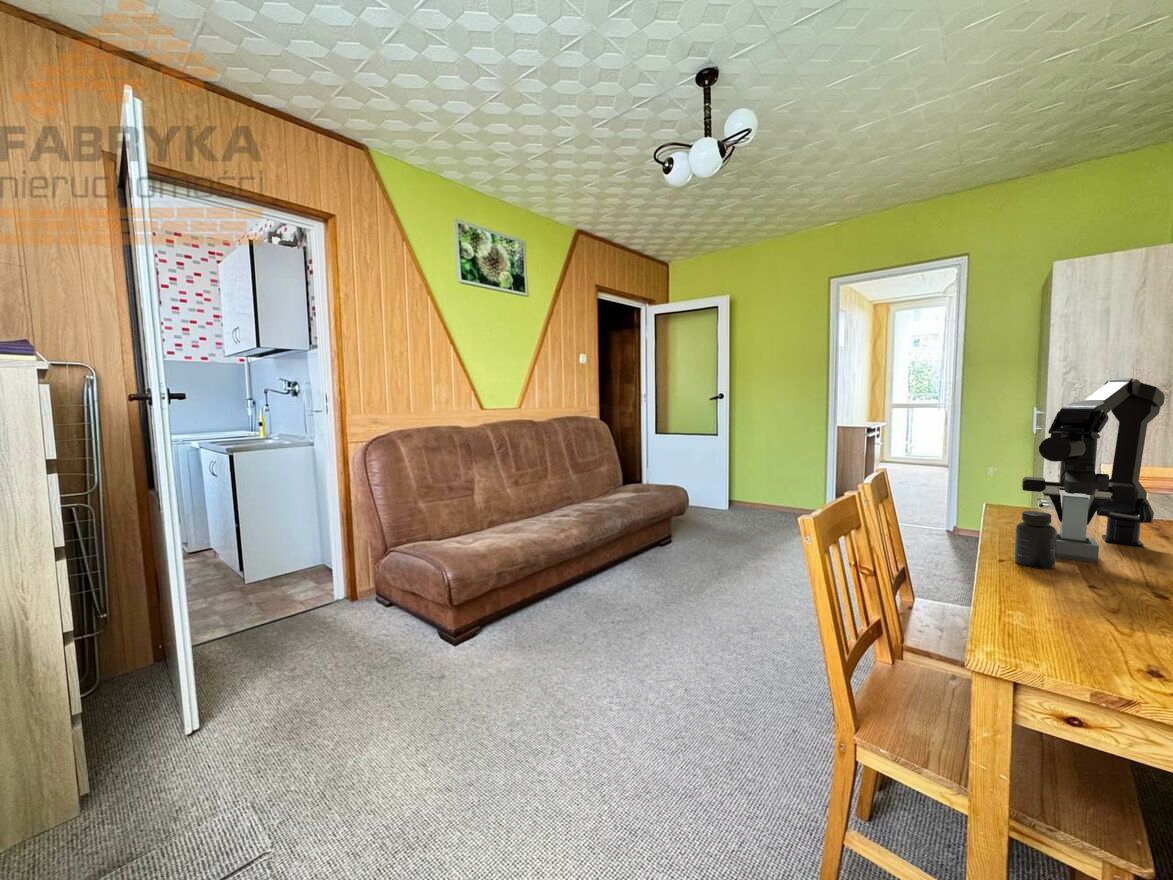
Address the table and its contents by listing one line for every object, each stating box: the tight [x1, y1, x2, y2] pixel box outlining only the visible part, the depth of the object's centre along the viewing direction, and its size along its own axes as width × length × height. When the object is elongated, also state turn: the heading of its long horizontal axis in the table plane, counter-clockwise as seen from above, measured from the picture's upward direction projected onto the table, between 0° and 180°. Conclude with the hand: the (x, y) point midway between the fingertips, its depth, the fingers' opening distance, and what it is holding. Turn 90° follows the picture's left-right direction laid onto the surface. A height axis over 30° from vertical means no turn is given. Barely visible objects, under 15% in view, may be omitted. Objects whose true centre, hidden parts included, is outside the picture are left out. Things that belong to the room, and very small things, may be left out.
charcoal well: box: [1056, 533, 1100, 564], centre depth 113 cm, size 8×8×4 cm
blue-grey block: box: [1059, 493, 1090, 541], centre depth 112 cm, size 4×4×10 cm
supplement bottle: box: [1014, 510, 1058, 570], centre depth 108 cm, size 7×7×12 cm
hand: (1073, 522), depth 113 cm, fingers closed on blue-grey block, 4 cm apart
